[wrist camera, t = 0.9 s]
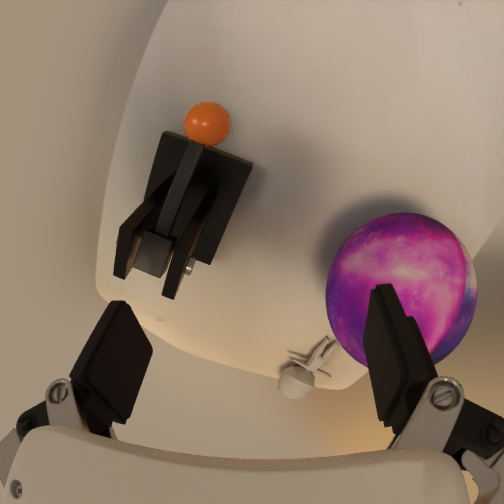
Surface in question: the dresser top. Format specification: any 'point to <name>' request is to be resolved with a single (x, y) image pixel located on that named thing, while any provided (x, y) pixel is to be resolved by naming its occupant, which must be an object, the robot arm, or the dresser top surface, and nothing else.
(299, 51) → the dresser top surface
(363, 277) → the decorative orb
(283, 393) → the figurine
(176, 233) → the switch bracket
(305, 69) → the dresser top surface
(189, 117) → the switch lever
